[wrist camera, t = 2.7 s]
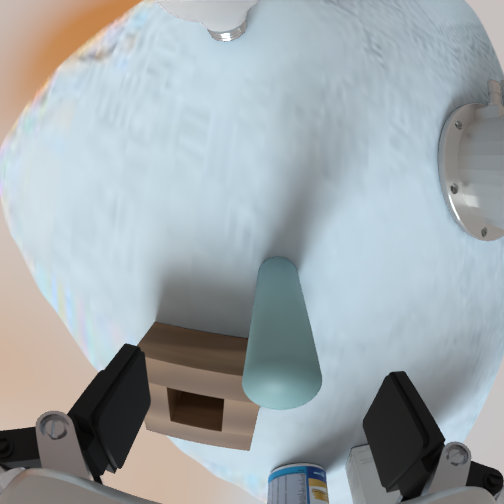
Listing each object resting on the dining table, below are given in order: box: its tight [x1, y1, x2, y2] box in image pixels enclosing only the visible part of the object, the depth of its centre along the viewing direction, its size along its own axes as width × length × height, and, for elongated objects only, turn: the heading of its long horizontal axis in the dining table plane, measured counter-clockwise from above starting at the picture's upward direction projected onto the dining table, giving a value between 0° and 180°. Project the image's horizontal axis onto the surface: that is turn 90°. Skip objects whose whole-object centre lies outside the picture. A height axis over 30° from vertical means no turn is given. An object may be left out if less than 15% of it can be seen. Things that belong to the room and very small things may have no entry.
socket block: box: [137, 322, 260, 451], centre depth 22 cm, size 10×10×5 cm
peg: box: [242, 257, 322, 410], centre depth 15 cm, size 3×3×12 cm
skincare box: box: [345, 445, 400, 504], centre depth 20 cm, size 8×6×15 cm
